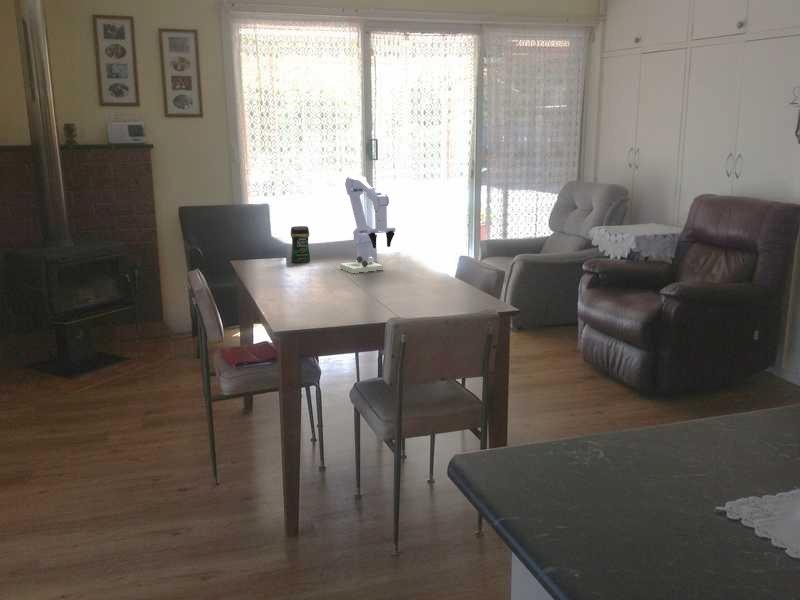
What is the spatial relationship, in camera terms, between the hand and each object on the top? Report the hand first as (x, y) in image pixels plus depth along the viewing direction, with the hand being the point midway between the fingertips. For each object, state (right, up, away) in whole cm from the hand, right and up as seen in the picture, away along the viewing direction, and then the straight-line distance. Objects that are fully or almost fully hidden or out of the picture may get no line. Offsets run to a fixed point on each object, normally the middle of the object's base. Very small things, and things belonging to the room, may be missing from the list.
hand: (381, 247), depth 357 cm
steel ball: (-5, -6, -1) cm, 9 cm away
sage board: (-10, -11, -3) cm, 15 cm away
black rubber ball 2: (-8, -8, -9) cm, 15 cm away
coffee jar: (-42, -6, +19) cm, 47 cm away
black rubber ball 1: (-11, -6, +2) cm, 13 cm away
